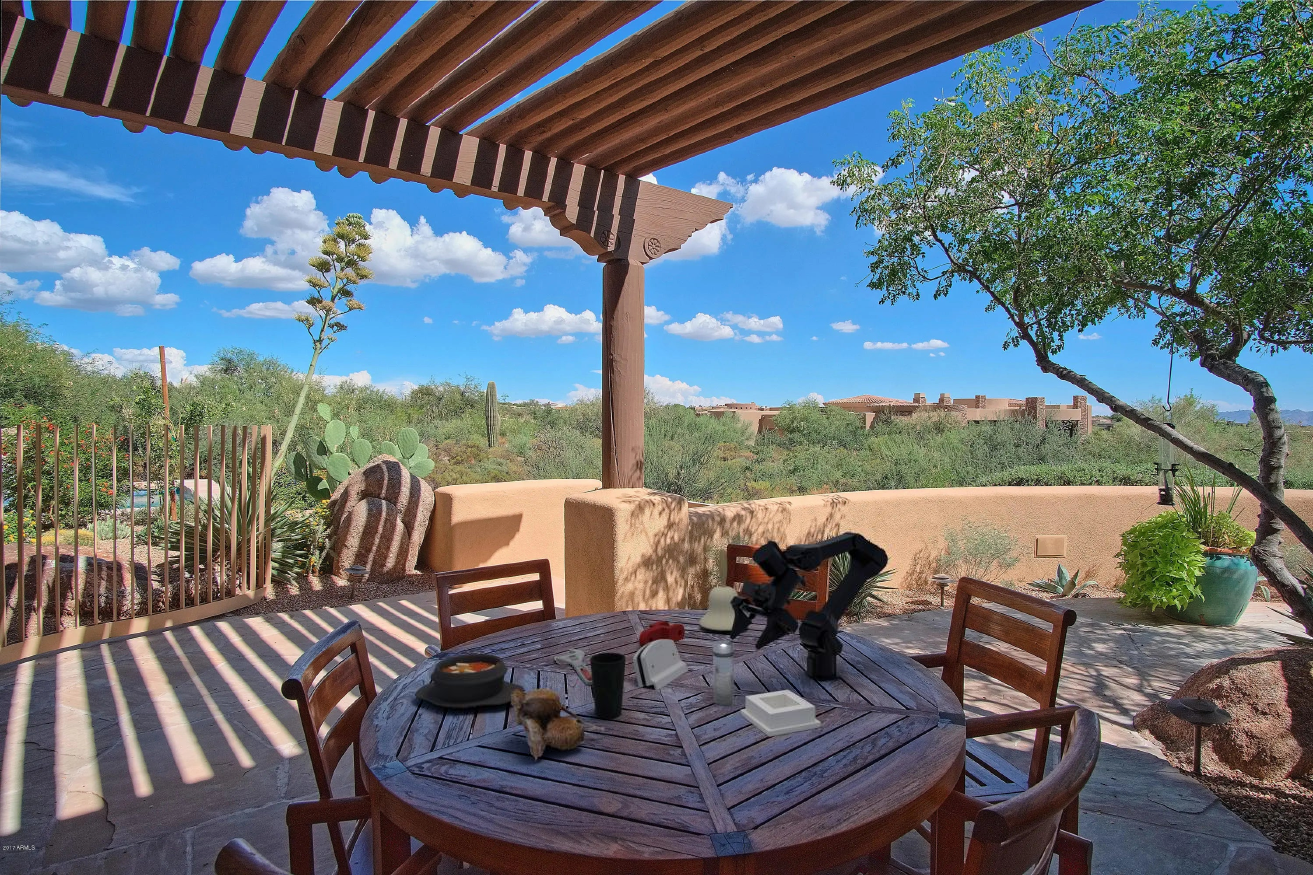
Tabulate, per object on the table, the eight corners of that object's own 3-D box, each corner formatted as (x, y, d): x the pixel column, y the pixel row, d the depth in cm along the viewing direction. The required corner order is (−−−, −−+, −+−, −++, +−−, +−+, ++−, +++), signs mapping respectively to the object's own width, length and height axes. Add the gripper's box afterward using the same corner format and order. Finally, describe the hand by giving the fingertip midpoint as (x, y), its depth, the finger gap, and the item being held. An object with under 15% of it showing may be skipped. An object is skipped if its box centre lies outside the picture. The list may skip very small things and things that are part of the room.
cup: (631, 709, 149) (631, 654, 149) (618, 722, 142) (617, 664, 142) (599, 705, 152) (598, 650, 152) (584, 718, 145) (584, 661, 145)
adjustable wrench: (564, 691, 163) (564, 682, 163) (552, 657, 188) (552, 649, 188) (598, 688, 165) (598, 679, 165) (582, 655, 190) (582, 647, 190)
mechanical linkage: (665, 635, 208) (665, 619, 208) (684, 639, 204) (684, 622, 204) (632, 648, 195) (632, 630, 195) (652, 652, 191) (652, 634, 191)
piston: (728, 696, 156) (728, 639, 157) (738, 703, 152) (737, 644, 152) (709, 699, 155) (708, 641, 155) (718, 706, 150) (718, 647, 150)
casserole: (537, 689, 162) (537, 654, 162) (501, 720, 144) (501, 680, 144) (442, 682, 168) (442, 647, 168) (396, 710, 150) (396, 672, 150)
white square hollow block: (789, 706, 150) (789, 687, 150) (820, 727, 139) (820, 707, 139) (740, 714, 146) (740, 695, 146) (768, 736, 135) (768, 716, 135)
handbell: (734, 637, 204) (733, 553, 204) (690, 630, 212) (689, 549, 212) (756, 626, 217) (755, 547, 217) (714, 619, 225) (713, 543, 225)
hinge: (656, 690, 161) (643, 648, 162) (640, 694, 163) (627, 652, 165) (688, 669, 175) (676, 631, 177) (673, 673, 177) (661, 635, 179)
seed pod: (532, 689, 143) (490, 689, 130) (601, 680, 138) (565, 679, 125) (534, 758, 138) (491, 765, 125) (606, 751, 133) (569, 758, 120)
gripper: (735, 562, 167) (699, 613, 162) (788, 573, 152) (749, 631, 146) (761, 590, 171) (726, 641, 165) (814, 605, 156) (778, 662, 150)
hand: (743, 643), depth 156 cm, fingers open, 9 cm apart
